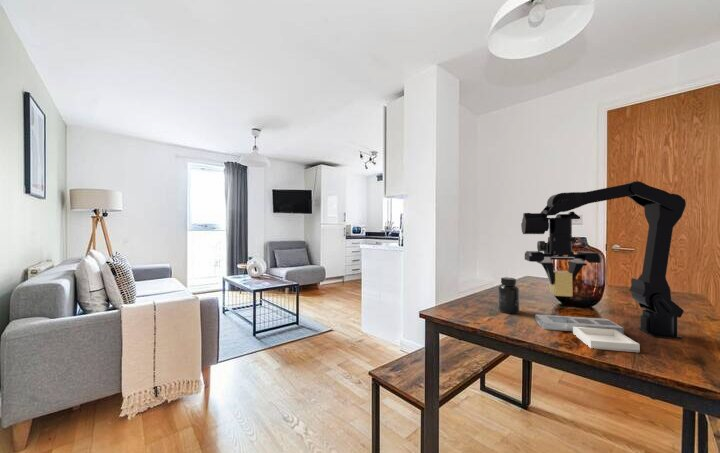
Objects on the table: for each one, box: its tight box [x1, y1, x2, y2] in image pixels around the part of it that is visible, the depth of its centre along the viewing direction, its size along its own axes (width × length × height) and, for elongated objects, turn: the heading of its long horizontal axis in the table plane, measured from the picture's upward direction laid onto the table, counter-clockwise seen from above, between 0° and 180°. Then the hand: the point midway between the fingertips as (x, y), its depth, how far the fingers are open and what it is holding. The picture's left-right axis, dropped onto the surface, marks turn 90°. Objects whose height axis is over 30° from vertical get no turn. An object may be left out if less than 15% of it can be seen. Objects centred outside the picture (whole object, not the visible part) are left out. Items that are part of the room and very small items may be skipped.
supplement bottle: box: [497, 276, 520, 314], centre depth 105 cm, size 7×7×12 cm
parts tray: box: [572, 327, 641, 354], centre depth 77 cm, size 10×10×2 cm
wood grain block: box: [549, 270, 574, 298], centre depth 89 cm, size 4×4×7 cm
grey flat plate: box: [534, 314, 625, 335], centre depth 88 cm, size 20×8×2 cm, turn 75°
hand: (560, 284), depth 89 cm, fingers closed on wood grain block, 4 cm apart
